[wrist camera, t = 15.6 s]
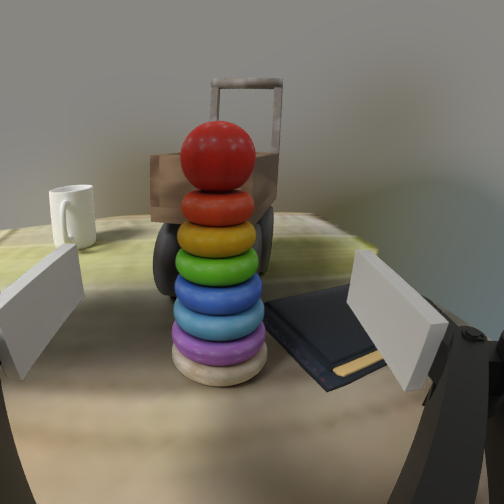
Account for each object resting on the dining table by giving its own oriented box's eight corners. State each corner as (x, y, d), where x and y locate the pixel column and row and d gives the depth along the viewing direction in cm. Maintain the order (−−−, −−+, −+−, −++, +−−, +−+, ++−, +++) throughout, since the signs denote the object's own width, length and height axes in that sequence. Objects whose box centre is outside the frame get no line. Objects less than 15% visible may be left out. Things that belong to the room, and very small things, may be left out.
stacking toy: (272, 340, 29) (289, 126, 23) (257, 399, 22) (278, 117, 15) (191, 327, 30) (190, 124, 24) (157, 379, 23) (140, 118, 16)
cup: (99, 235, 56) (95, 183, 53) (90, 257, 46) (84, 193, 42) (60, 238, 54) (55, 187, 50) (44, 260, 43) (36, 198, 40)
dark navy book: (376, 271, 43) (461, 320, 30) (373, 283, 43) (455, 334, 30) (245, 295, 35) (325, 382, 22) (244, 310, 35) (320, 400, 22)
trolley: (154, 308, 33) (153, 47, 24) (209, 252, 51) (215, 80, 42) (245, 324, 31) (259, 37, 22) (272, 259, 49) (283, 80, 40)
